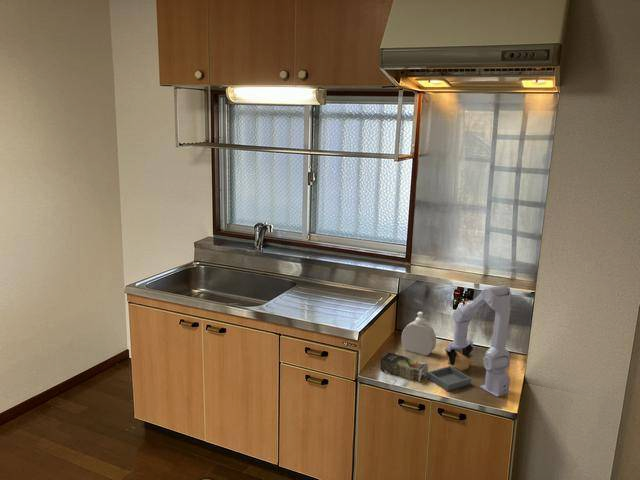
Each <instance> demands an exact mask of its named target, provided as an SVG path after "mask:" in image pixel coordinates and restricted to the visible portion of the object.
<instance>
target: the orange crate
mask: <svg viewBox="0 0 640 480" xmlns="http://www.w3.org/2000/svg"><path fill="white" fill-rule="evenodd" d="M456 352H457V351H456ZM447 365H448V366H451V367H453V368H455V369H456V370H458V371H460V372H462V371H464V370H468V369H469V368H470V367H469V366H470V357H469V356H468V357H466V356H464V355H462V354H460V353H458V352H457V355H456V358H455V364H454V365H451V364H450V361H449V357H447Z"/></svg>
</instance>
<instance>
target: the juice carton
mask: <svg viewBox="0 0 640 480" xmlns="http://www.w3.org/2000/svg"><path fill="white" fill-rule="evenodd" d="M379 364H380V371H383V372H387V374H391V375H394V376H398V377H401V378H405V379H408V380H410V381H414V382H418V383H420V382H423V381H424V380H425V378H426V377H427V372H429V363H427V362H423V361H420V360H417V359H414V358H410V357H407V356H404V355H400V354H396V353H394V352H388V353H386V354H385V355H384V356H383V357H382V358H380V363H379Z"/></svg>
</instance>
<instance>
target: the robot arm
mask: <svg viewBox="0 0 640 480" xmlns="http://www.w3.org/2000/svg"><path fill="white" fill-rule="evenodd" d="M511 298H512V292H511V291H510V289H509V287H508V286H507V285H504V284H502V285H498V286H497V285H496V286H491V287H489V286H487V287H485V288H483V289H482V290H480V293H479V294H478V295H477V296H476V297H475V299H474V300H472V299H471V300H470V299H469V300H466V302H465V304H464V305H462V306H460V308H459V309H454V311H453V313H452V319H453V321H454V331H453V332H454V333H453V340H452V341H451V342H452V343H450V344H448V345H446V346H445V349H446V351H445V353H446V352H447V354H448V357H449V361H450V364H451V365H454V364H455V358H456V355H457V351H456V352H455V350H454V349H458V348H462V355H464V356H466V357H468V358H469V356H470V353H472V351H473V350H474V347H473V346H474V345H473V344H474V341H473V340H470V339H468V331H469V330H468V329H469V325H470V324H471V323H470V322H471V320H472V319H473V316H474V315H475V314H477V313H478V312H479V311H480V307H481V306H483V305H484V304H485V303H486V304H487V306H489V307H490V308H491V309H492V310H493V311H494V312H495V316H494V321H493V322H494V323H493V327H492V328H493V330H492V335H491V336H492V337H491V343H490V344H491V345H490V347H489V348H488V349H487V350H486V351H485V355H484V357H483V359H482V364H483V367H484V369H485V370H486V371H485V379H484V384H482V385H480V386H479V387H480V388H481V389H483V390H484V391H486V392H488V393H490V394H491V395H493V396H495V397H496V398H497V397H500V396H503V395H506V394H509V393H511V391H510V383H511V377H510V376H509V375H508V374H507V372H506V371H507V368H509V366H510V364H511V362H510V361H511V360H510V352H509V351H508V350H507V349H506V344H507V343H506V342H507V336H508V330H509V323H510V317H511ZM448 357H447V358H448ZM451 365H450V366H451Z"/></svg>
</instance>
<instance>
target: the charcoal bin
mask: <svg viewBox="0 0 640 480" xmlns="http://www.w3.org/2000/svg"><path fill="white" fill-rule="evenodd" d="M426 379H427V380H429V381H430V382H432V383H434V385H436V386H439V388H441V389H443V390H444V391H446V392H448V393H449V392H451V391H455V390H457V389H461V388H464V387H468V386H471V385H472V377H470V376H469V375H466V374H465V373H463V372H462V371H459V370H458V369H456V368H454V367H452V366H451V365H448V366H444V367H441V368H438V369H434V370H430V371H428V372H427V375H426Z"/></svg>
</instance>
